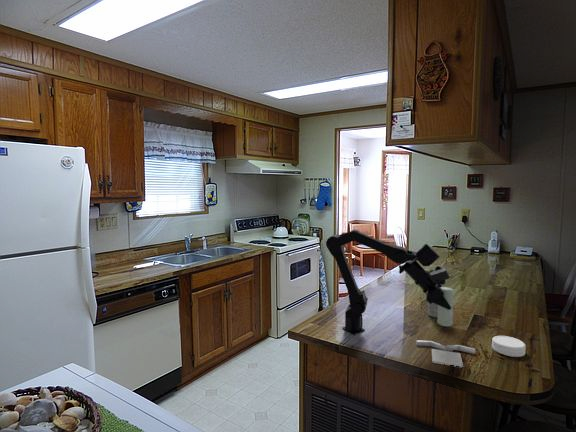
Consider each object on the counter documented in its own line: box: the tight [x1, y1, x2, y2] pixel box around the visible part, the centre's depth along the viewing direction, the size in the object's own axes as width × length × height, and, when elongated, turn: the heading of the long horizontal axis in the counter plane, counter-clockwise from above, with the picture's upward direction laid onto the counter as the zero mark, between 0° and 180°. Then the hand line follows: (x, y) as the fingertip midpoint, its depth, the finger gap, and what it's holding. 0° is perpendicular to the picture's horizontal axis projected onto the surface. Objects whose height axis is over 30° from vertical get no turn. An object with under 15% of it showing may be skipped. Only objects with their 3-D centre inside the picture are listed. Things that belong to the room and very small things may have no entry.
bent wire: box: [415, 339, 476, 355], centre depth 123 cm, size 19×4×2 cm, turn 70°
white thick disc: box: [491, 335, 526, 358], centre depth 122 cm, size 10×10×4 cm
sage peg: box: [437, 286, 455, 327], centre depth 128 cm, size 5×5×13 cm
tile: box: [431, 348, 464, 368], centre depth 116 cm, size 9×9×1 cm
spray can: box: [427, 269, 446, 319], centre depth 155 cm, size 7×7×20 cm
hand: (449, 306), depth 128 cm, fingers closed on sage peg, 5 cm apart
